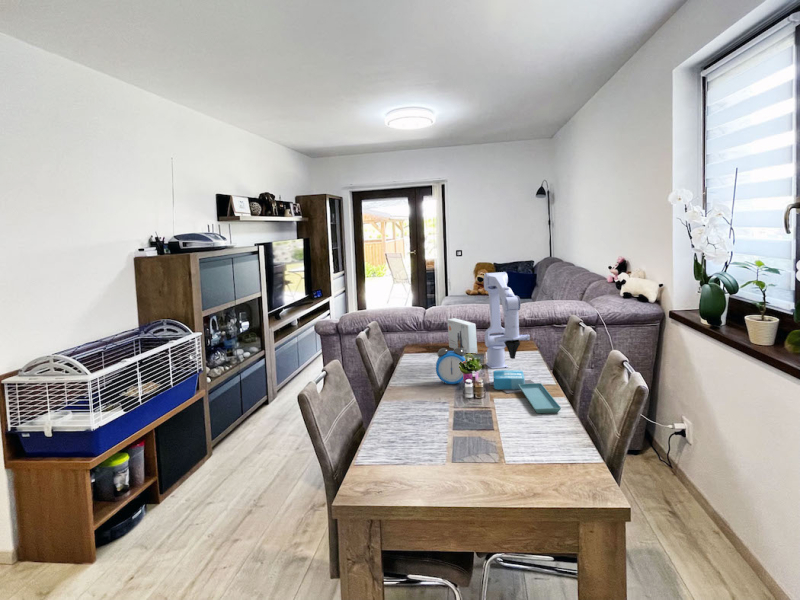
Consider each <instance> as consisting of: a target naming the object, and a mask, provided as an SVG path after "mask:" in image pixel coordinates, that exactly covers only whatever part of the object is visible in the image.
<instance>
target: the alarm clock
mask: <svg viewBox="0 0 800 600" xmlns="http://www.w3.org/2000/svg"><path fill="white" fill-rule="evenodd" d="M465 354H466V353H464V351H463V349H461V348H455V349H453V348H451V349H449V350H448V348H445V347H442V348H439V350H438V351H437V357H438V358H437V359H436V363H435V372H436V376H437V377H438V378H439V379H440V381H442V382H443V385H445V384H449V385H457V384H460V383H461V382H462V381H463V380H464V379H463V374H462V372H461V371H460V368H459V363H460V362H463V361H465V360H466V358H465Z"/></svg>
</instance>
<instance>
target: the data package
mask: <svg viewBox="0 0 800 600" xmlns="http://www.w3.org/2000/svg"><path fill="white" fill-rule="evenodd" d="M492 373H493V388H494V389H495V390H502V389H520V387H519V385H518V384H525V380H526V379H525V373H524V371H523V370H521V369H516V370H514V369H513V370H510V369H508V370H503V369H502V370H497V369H496V370H494V371H493V372H492Z"/></svg>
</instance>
